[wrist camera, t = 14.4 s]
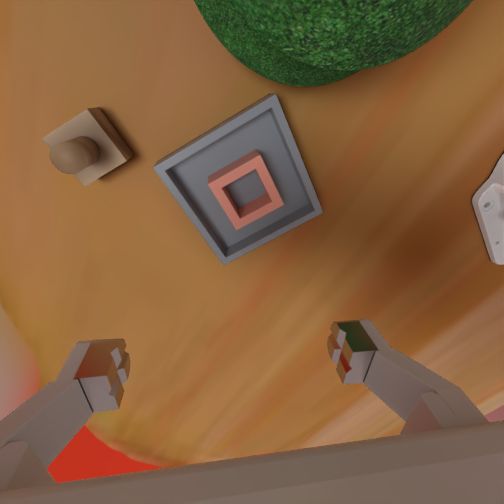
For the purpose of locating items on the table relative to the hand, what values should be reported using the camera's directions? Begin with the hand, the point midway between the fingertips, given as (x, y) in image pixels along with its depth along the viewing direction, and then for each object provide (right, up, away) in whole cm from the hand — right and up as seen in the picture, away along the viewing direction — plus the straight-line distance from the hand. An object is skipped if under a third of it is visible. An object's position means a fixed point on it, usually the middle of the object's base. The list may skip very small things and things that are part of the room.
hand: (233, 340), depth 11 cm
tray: (0, +11, +21) cm, 24 cm away
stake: (-15, +14, +17) cm, 27 cm away
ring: (0, +11, +20) cm, 23 cm away
